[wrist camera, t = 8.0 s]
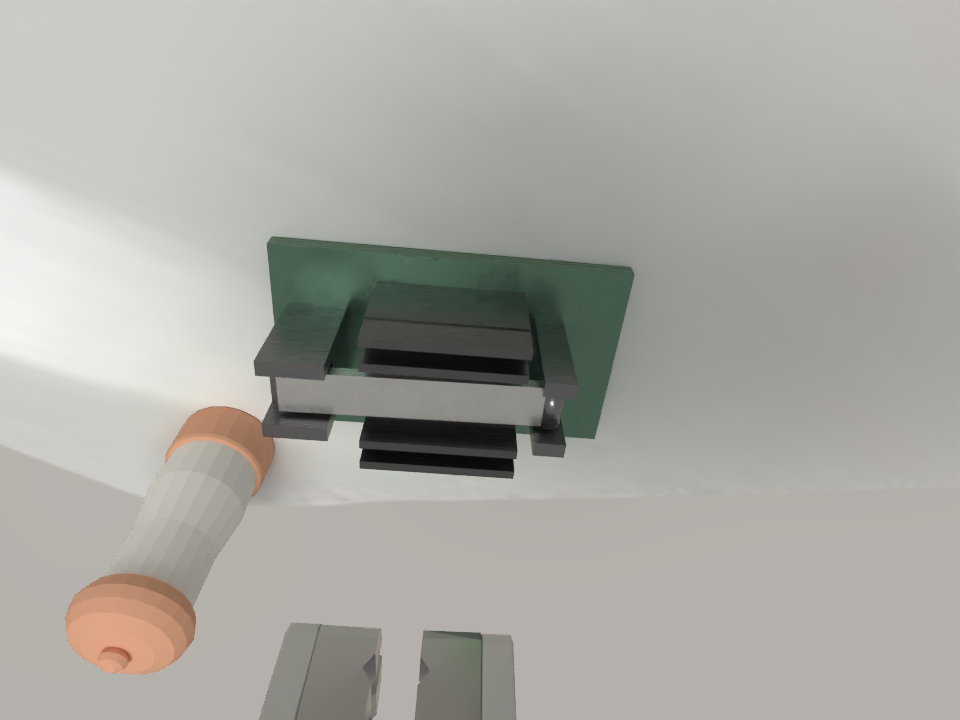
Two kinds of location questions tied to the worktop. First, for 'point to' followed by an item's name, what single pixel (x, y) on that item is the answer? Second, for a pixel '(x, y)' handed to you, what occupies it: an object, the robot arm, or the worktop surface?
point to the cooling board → (442, 343)
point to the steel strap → (420, 398)
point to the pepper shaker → (172, 546)
